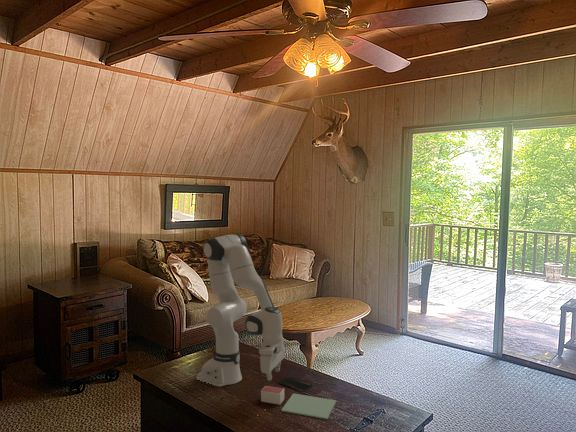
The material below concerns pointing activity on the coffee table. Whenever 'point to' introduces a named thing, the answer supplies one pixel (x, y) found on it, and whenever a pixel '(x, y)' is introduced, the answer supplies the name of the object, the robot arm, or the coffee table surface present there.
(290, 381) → the phone
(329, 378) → the coffee table surface
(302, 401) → the mat
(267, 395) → the card case
